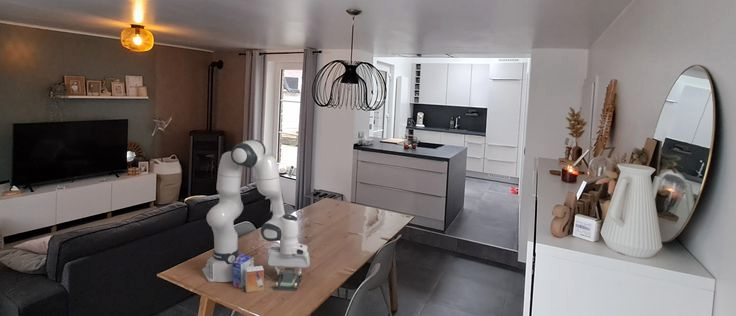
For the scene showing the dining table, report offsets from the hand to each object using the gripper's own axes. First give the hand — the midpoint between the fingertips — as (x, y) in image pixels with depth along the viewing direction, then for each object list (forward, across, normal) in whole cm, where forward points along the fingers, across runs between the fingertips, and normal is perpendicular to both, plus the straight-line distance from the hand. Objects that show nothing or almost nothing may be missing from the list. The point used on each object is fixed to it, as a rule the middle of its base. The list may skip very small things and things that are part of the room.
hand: (288, 274), depth 204 cm
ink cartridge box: (+5, -22, -2) cm, 22 cm away
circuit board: (+4, 0, 0) cm, 4 cm away
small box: (+5, -15, -8) cm, 17 cm away
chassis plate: (+5, 0, 0) cm, 5 cm away
